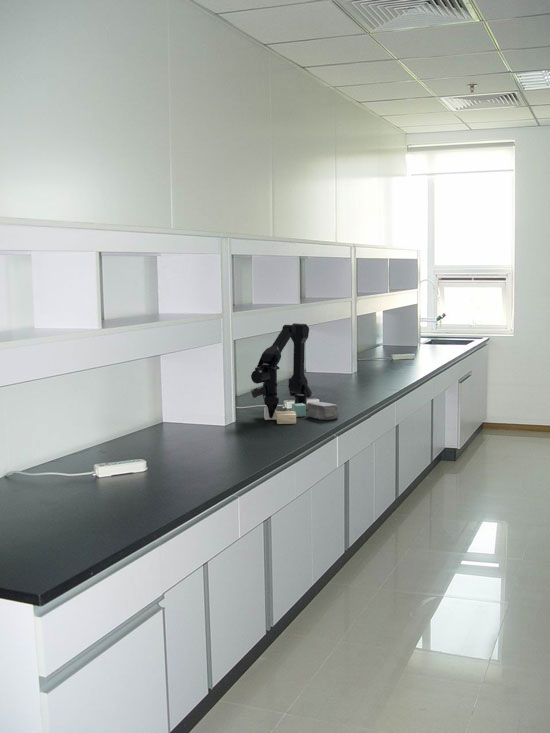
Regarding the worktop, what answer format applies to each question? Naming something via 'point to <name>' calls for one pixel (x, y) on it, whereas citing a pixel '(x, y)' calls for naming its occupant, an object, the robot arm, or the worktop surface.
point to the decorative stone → (322, 410)
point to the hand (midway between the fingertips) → (270, 415)
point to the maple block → (286, 417)
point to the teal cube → (299, 409)
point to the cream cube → (266, 414)
